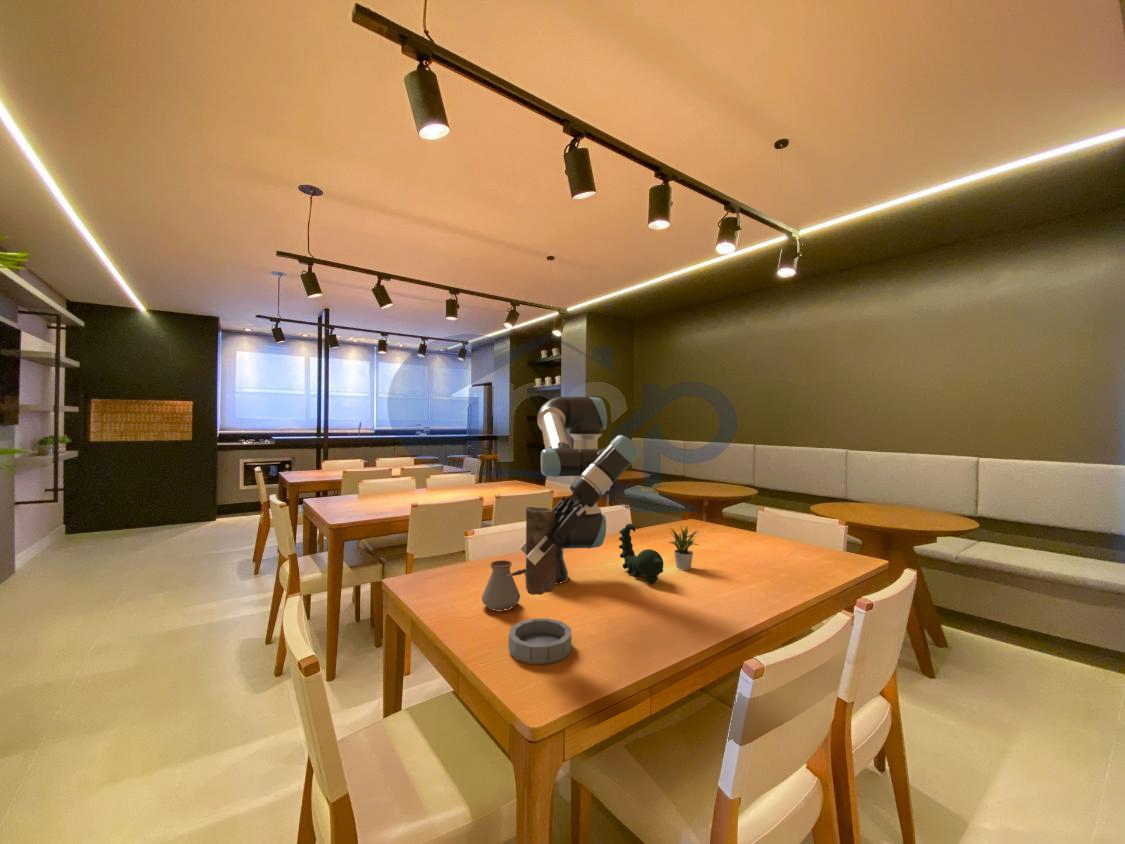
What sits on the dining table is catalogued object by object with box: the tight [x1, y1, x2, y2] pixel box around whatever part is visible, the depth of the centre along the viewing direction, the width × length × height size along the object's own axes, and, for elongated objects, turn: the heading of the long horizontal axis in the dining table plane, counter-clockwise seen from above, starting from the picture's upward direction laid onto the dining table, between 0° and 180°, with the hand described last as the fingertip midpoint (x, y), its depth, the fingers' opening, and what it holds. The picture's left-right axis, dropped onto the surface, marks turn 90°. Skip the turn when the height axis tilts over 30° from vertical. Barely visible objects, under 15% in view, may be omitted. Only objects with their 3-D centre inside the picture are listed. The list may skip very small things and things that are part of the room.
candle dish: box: [508, 617, 573, 665], centre depth 108 cm, size 15×15×4 cm
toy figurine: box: [618, 523, 664, 584], centre depth 160 cm, size 9×19×25 cm
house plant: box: [668, 525, 703, 571], centre depth 170 cm, size 14×14×16 cm
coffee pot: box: [481, 559, 526, 610], centre depth 130 cm, size 21×12×15 cm, turn 37°
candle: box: [525, 506, 557, 596], centre depth 108 cm, size 8×7×20 cm
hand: (527, 556), depth 107 cm, fingers closed on candle, 7 cm apart
